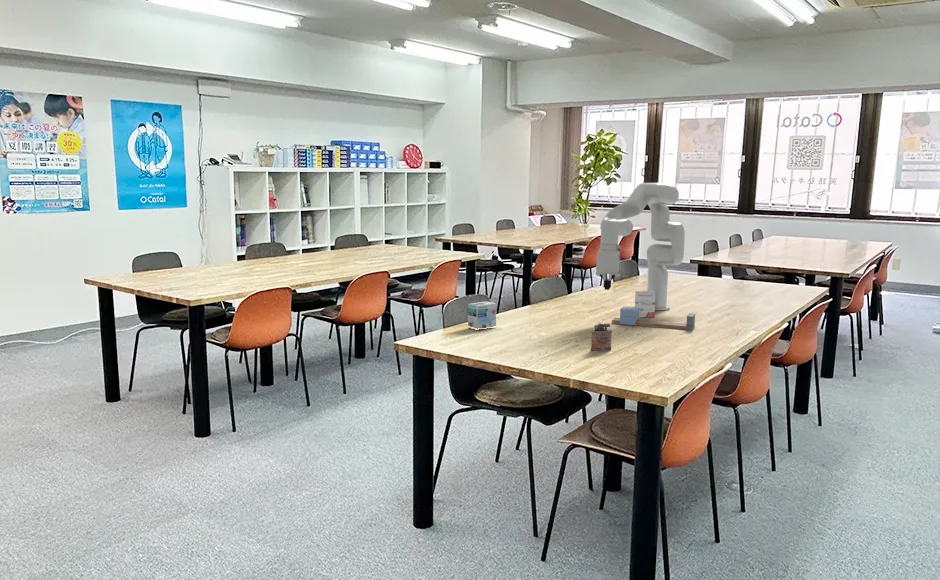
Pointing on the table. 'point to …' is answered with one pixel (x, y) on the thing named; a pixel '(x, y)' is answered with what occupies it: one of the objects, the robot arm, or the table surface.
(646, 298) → the ink box
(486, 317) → the light bulb box
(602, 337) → the lighter
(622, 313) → the block
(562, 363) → the table surface
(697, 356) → the table surface
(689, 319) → the rail
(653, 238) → the robot arm
